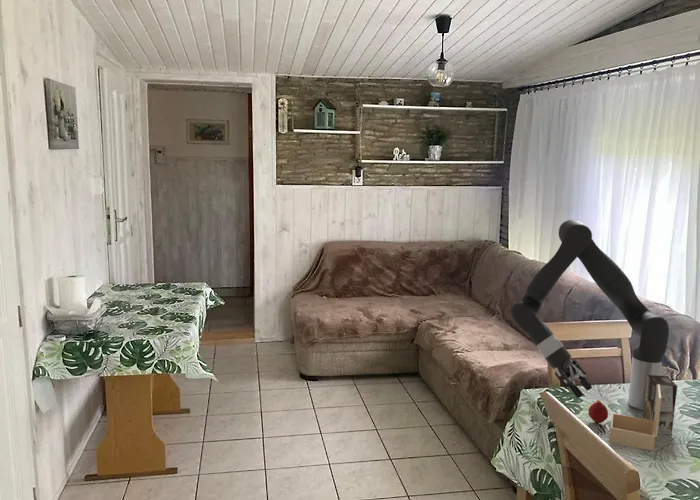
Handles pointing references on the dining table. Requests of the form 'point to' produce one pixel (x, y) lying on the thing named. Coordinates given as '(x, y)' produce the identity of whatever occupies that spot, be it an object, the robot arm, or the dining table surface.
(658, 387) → the box
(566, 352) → the robot arm
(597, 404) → the onion
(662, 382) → the coffee box
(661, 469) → the dining table surface
